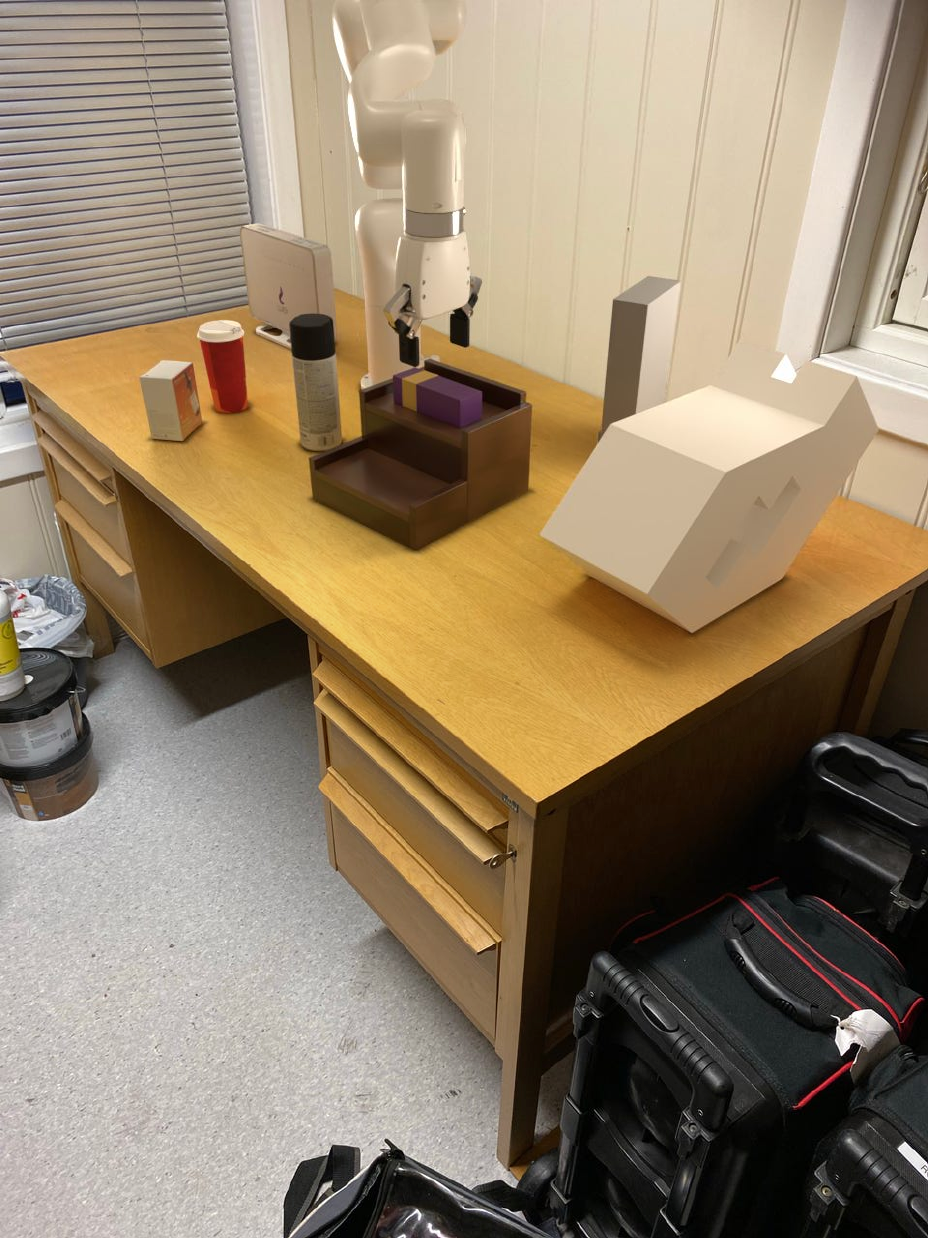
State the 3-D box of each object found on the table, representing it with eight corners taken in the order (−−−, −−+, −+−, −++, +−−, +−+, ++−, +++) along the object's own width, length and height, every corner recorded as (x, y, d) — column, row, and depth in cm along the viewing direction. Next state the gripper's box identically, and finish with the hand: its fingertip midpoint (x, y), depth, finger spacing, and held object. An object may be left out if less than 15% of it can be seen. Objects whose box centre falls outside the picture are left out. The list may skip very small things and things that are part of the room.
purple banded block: (415, 393, 139) (415, 366, 137) (482, 419, 132) (482, 390, 130) (393, 402, 136) (392, 374, 134) (459, 428, 129) (460, 400, 127)
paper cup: (262, 402, 167) (252, 322, 159) (236, 418, 161) (224, 336, 153) (225, 395, 170) (214, 316, 162) (198, 410, 164) (185, 329, 156)
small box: (183, 442, 154) (171, 379, 148) (150, 439, 154) (138, 376, 148) (203, 422, 160) (193, 361, 154) (172, 419, 161) (161, 358, 155)
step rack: (425, 448, 152) (423, 356, 143) (528, 491, 140) (533, 393, 132) (312, 498, 138) (302, 400, 130) (415, 550, 126) (412, 446, 118)
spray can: (349, 438, 155) (340, 314, 144) (331, 455, 150) (321, 328, 138) (312, 432, 157) (300, 310, 145) (293, 449, 152) (279, 323, 140)
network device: (241, 327, 200) (228, 226, 188) (277, 318, 205) (266, 219, 193) (313, 359, 185) (303, 251, 173) (349, 348, 189) (342, 243, 178)
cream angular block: (647, 594, 101) (830, 311, 100) (539, 534, 111) (704, 277, 110) (726, 663, 121) (879, 429, 120) (629, 608, 131) (769, 392, 130)
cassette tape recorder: (626, 429, 158) (643, 274, 144) (661, 437, 156) (682, 280, 141) (592, 461, 148) (606, 298, 134) (629, 470, 146) (648, 305, 131)
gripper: (459, 204, 127) (458, 331, 137) (362, 229, 117) (369, 364, 127) (501, 214, 123) (497, 344, 133) (405, 241, 113) (408, 379, 123)
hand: (435, 354), depth 130 cm, fingers open, 9 cm apart
